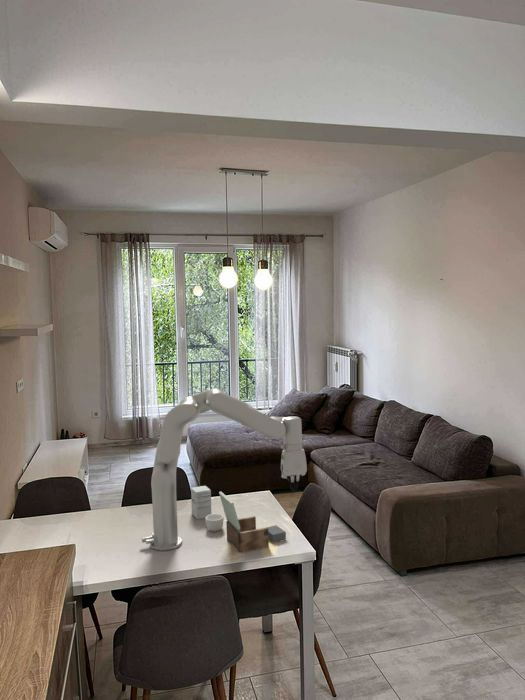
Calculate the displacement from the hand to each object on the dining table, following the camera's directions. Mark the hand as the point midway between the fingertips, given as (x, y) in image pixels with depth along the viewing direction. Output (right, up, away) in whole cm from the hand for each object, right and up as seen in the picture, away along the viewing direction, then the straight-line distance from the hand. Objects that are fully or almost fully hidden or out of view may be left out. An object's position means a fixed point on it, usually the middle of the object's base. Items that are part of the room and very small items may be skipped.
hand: (294, 490), depth 227 cm
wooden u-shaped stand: (-19, -19, -7) cm, 28 cm away
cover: (-26, -6, -10) cm, 28 cm away
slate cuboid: (-8, -19, -2) cm, 21 cm away
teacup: (-33, -19, +9) cm, 39 cm away
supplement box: (-41, -18, +24) cm, 51 cm away
